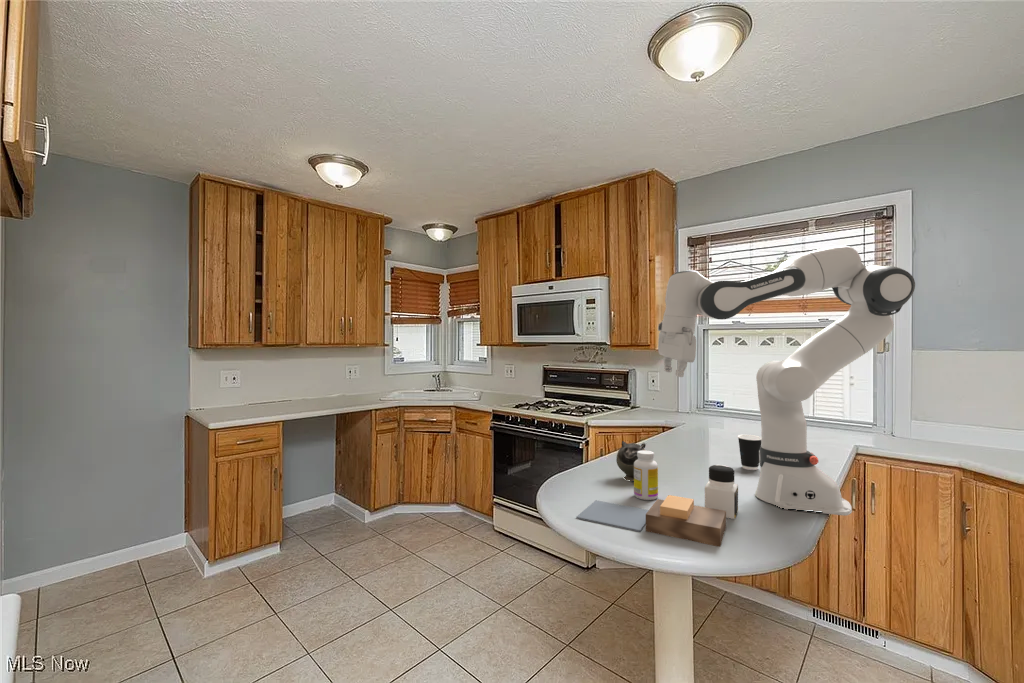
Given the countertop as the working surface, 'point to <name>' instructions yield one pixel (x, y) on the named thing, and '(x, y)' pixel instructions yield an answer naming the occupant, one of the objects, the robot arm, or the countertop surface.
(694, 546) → the countertop surface
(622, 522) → the mat
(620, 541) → the countertop surface
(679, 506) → the tile
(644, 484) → the supplement bottle
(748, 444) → the dixie cup
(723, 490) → the medicine bottle
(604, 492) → the countertop surface
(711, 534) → the wooden block
